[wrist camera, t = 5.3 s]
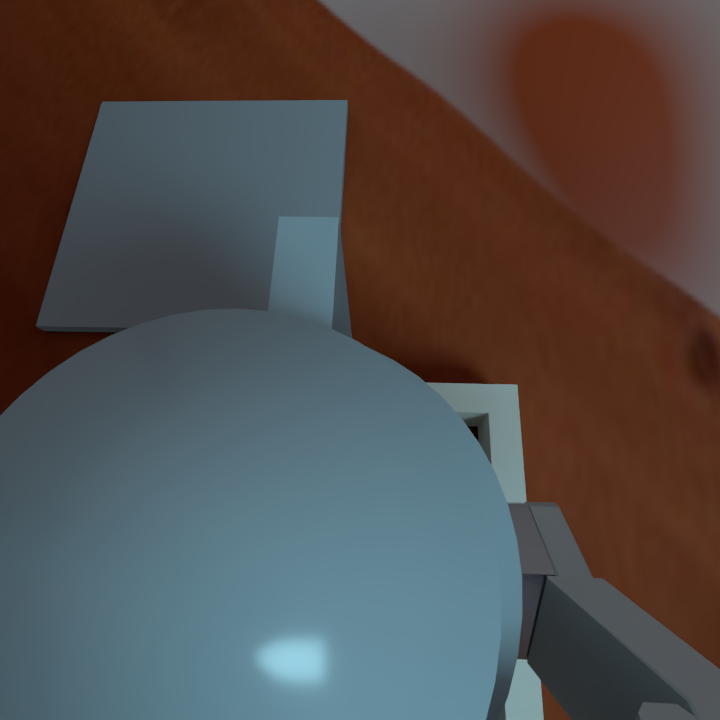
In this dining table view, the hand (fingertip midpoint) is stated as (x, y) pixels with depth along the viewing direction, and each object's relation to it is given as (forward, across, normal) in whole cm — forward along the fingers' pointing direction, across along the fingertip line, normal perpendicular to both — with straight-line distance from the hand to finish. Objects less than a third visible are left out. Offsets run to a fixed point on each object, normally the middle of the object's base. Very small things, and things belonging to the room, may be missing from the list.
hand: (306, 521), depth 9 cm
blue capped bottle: (+6, 0, +5) cm, 7 cm away
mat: (+16, +7, -3) cm, 17 cm away
